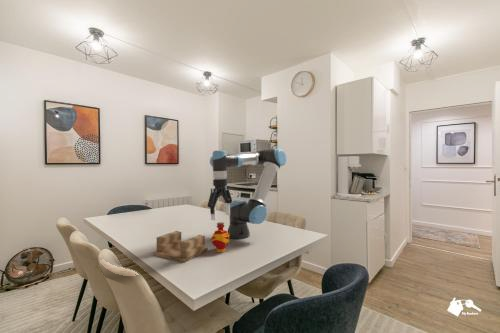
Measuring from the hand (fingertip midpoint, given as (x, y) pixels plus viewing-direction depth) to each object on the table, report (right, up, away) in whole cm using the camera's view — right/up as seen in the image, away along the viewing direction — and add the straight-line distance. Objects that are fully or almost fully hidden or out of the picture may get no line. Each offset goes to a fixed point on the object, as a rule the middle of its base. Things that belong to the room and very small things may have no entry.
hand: (220, 217), depth 130 cm
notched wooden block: (-21, -19, -3) cm, 28 cm away
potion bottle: (0, -19, +1) cm, 19 cm away
